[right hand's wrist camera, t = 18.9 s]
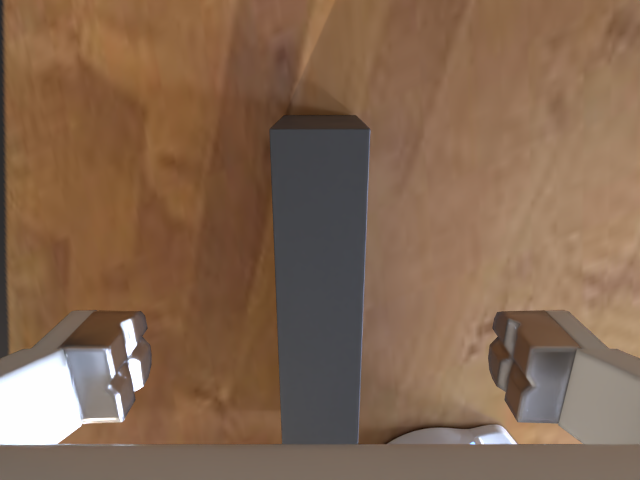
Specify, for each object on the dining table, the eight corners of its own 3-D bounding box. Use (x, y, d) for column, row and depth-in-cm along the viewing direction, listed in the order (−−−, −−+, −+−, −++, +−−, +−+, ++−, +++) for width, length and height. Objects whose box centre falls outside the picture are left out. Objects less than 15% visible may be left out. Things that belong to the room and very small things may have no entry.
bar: (283, 115, 32) (269, 128, 23) (356, 115, 32) (370, 128, 23) (292, 411, 41) (284, 503, 32) (348, 411, 41) (355, 503, 32)
